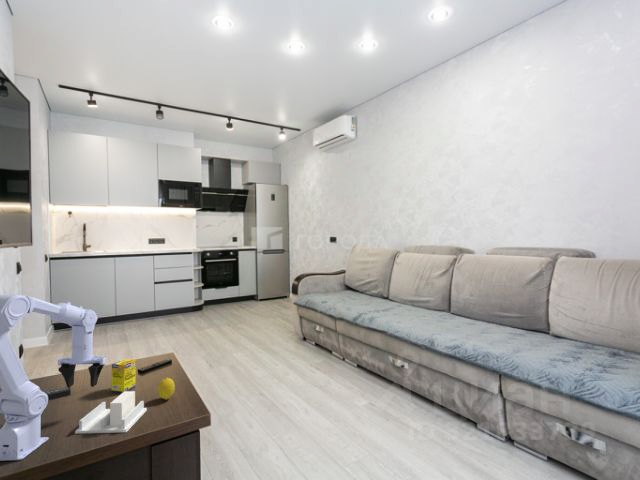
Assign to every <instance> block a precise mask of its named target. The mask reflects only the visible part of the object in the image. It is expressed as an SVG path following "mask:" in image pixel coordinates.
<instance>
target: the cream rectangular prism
mask: <svg viewBox="0 0 640 480" xmlns="http://www.w3.org/2000/svg"><path fill="white" fill-rule="evenodd" d="M135 407H136V391H135V390H132V391H131V390H129V391H124V392H123V393H120V394H119V395H118V396H117V397H116V398H114V399H113V400H112V401H111V402H110V403H109V409H110V426H122V419H123V418H124V417H125V416H126V415H127V414H128V413H129V412H131V411H132V410H133V409H134V408H135Z"/></svg>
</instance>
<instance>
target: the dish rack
mask: <svg viewBox="0 0 640 480" xmlns="http://www.w3.org/2000/svg"><path fill="white" fill-rule="evenodd" d="M144 402H145V401H144V400H140V402H139V403H137V405H135V408H134V409H133V410H132V411H131V412H129V413H128V414H127V415H126V416H125V417H124V418H123V419H122V426H110V408H106V403H107V401H102V402H101V403H99V404H98V406H96V407H95V408H93V409H92V410H91V411H90V412H89V413H87V414H85V416H84V417H82V418H81V419H79V421H78V428H76V430H74V434H75V435H77V434H109V433H110V434H111V433H114V434H115V433H117V434H118V433H127V432H128V431H129V430H130V429H131V428H132V427H133V426H134V425H135V424H136V423H137V422H138V420H139V419H140V418H141V417H142V416H143V415H144V414H145V413H146V412H147V411H148V409H147V407H145V403H144Z"/></svg>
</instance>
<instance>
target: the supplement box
mask: <svg viewBox="0 0 640 480" xmlns="http://www.w3.org/2000/svg"><path fill="white" fill-rule="evenodd" d="M136 362H137V360H136V359H128V358H123V359H120V360H118V361H116V362H113V363H111V383H110V385H111V387H110V389H111V391H110V392H111V393H114V394H115V393H116V394H122V393H123V392H124V391H131V390H132V389H135V388H136V376H137V374H136V372H137V371H136V368H137V367H136V365H137V364H136Z"/></svg>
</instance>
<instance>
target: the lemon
mask: <svg viewBox="0 0 640 480" xmlns="http://www.w3.org/2000/svg"><path fill="white" fill-rule="evenodd" d="M158 384H159V385H158V388H157V392H158V396H159V397H160V398H161V399H163V400H165V401H167V400H168V399H169V398H171V397H172V396H173V394H175V389H176V388H175V387H176V386H175V385H176V384H175V382H174V380H173V379H172V378H170V377H165V378H163V379H161V381H160V382H159V383H158Z"/></svg>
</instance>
